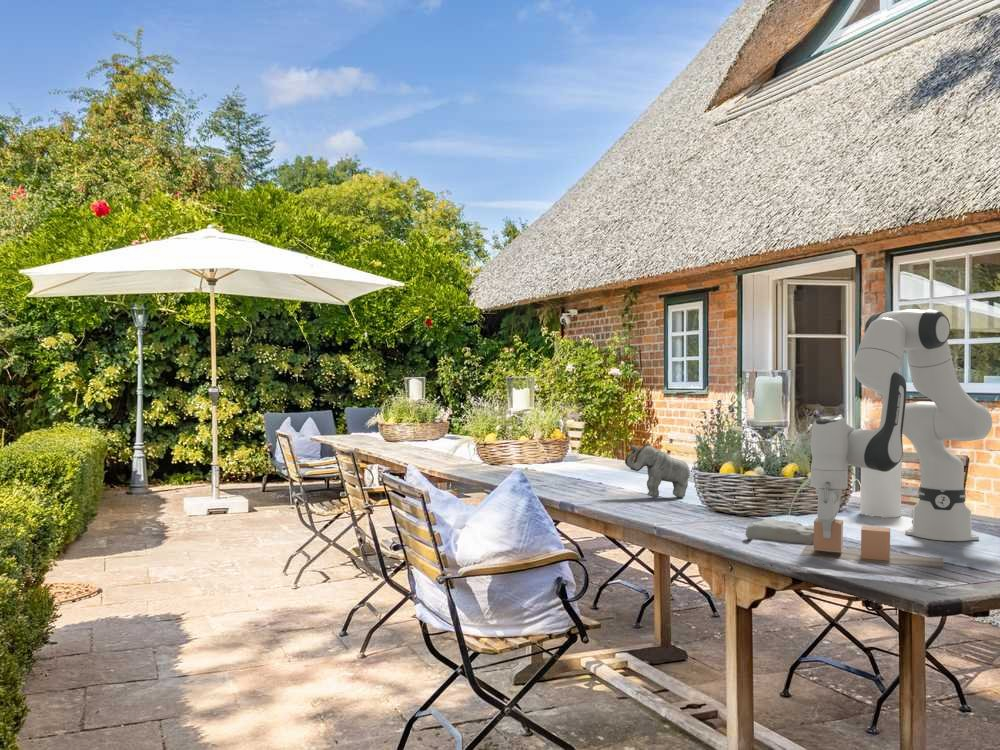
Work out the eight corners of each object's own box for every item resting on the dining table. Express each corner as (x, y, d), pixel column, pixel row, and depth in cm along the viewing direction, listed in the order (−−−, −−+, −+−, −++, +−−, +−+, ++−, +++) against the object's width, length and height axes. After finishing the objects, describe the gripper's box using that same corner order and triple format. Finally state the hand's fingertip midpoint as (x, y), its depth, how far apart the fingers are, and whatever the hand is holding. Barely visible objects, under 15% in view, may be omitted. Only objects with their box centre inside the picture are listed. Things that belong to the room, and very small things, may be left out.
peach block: (816, 545, 221) (816, 517, 221) (842, 547, 218) (842, 519, 218) (813, 549, 215) (813, 521, 215) (840, 551, 212) (841, 523, 212)
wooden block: (862, 553, 216) (862, 525, 216) (890, 555, 213) (890, 527, 213) (860, 558, 210) (861, 529, 210) (889, 560, 207) (889, 531, 207)
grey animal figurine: (683, 495, 329) (684, 443, 329) (692, 499, 320) (693, 445, 320) (621, 496, 324) (621, 443, 324) (628, 500, 315) (629, 445, 315)
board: (805, 550, 225) (805, 546, 225) (942, 563, 211) (942, 558, 211) (800, 559, 213) (800, 555, 213) (944, 573, 199) (944, 568, 199)
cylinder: (909, 516, 283) (910, 441, 284) (876, 518, 280) (877, 441, 281) (883, 511, 296) (884, 438, 296) (852, 512, 293) (853, 439, 293)
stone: (743, 541, 238) (743, 522, 238) (761, 534, 250) (761, 516, 250) (822, 552, 226) (822, 532, 226) (837, 543, 238) (837, 524, 238)
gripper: (839, 485, 206) (838, 543, 206) (844, 477, 224) (844, 530, 224) (811, 484, 208) (811, 540, 208) (819, 475, 227) (818, 528, 227)
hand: (828, 535), depth 216 cm, fingers closed on peach block, 6 cm apart
